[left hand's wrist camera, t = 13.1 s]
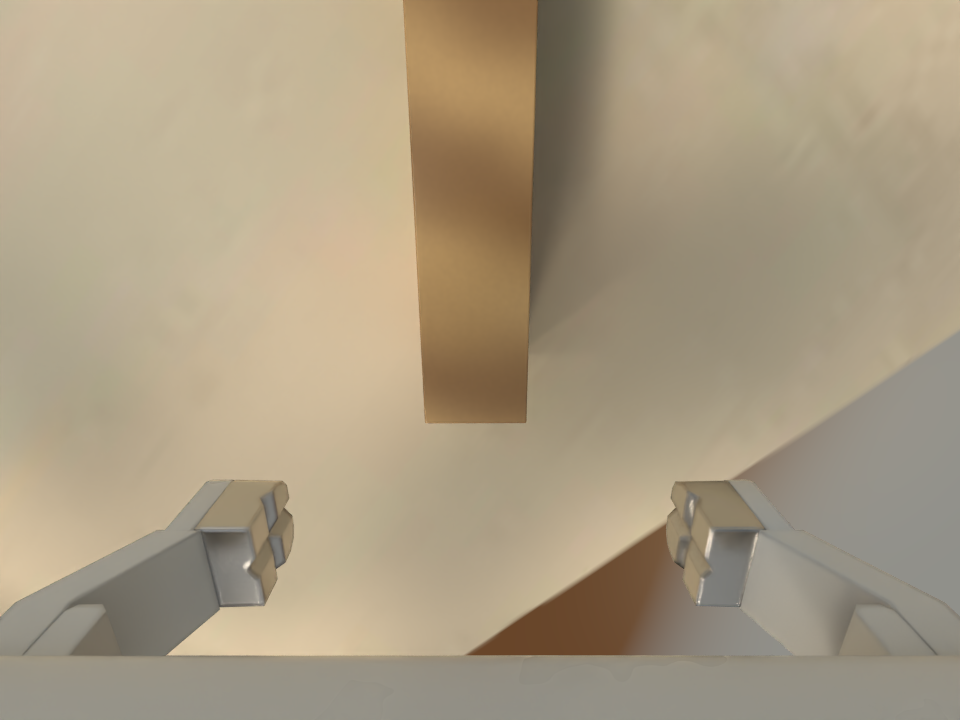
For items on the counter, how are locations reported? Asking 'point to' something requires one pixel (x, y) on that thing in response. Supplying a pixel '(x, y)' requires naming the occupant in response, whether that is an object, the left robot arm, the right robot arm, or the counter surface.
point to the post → (473, 201)
